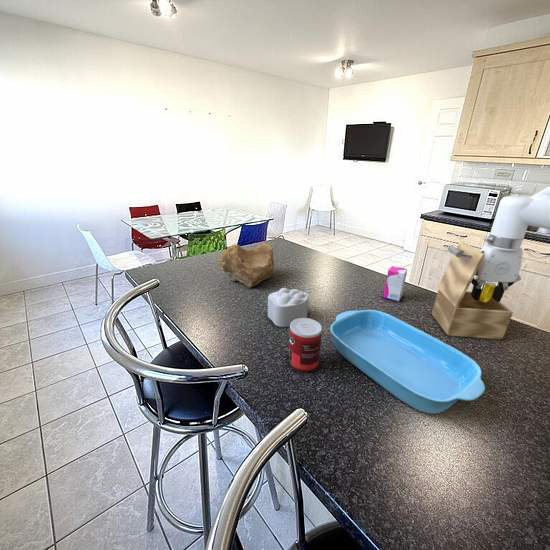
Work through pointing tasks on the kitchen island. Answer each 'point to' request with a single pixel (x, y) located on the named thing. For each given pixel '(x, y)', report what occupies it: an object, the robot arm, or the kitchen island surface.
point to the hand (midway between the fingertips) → (485, 298)
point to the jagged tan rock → (248, 264)
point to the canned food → (304, 344)
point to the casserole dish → (407, 360)
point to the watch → (488, 288)
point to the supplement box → (395, 283)
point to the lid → (460, 272)
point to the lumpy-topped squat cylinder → (287, 306)
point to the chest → (472, 317)
